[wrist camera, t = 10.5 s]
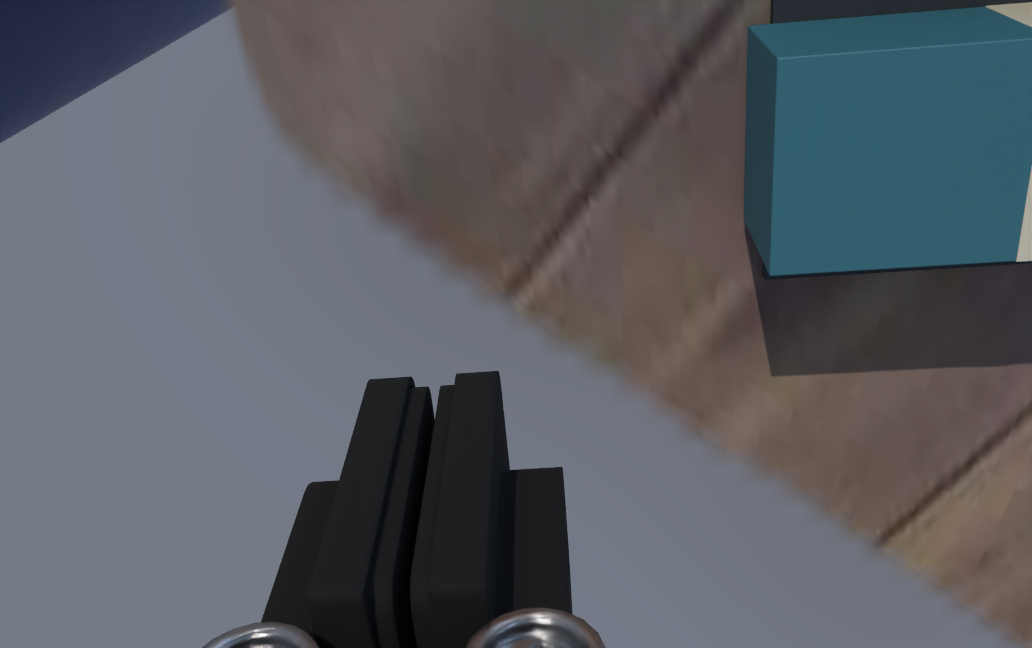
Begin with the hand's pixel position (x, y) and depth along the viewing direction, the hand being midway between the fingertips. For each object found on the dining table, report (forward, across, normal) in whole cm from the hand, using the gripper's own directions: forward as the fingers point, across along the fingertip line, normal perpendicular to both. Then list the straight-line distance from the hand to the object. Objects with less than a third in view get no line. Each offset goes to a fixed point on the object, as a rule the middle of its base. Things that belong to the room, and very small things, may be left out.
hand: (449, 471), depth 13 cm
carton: (+21, -8, +3) cm, 23 cm away
